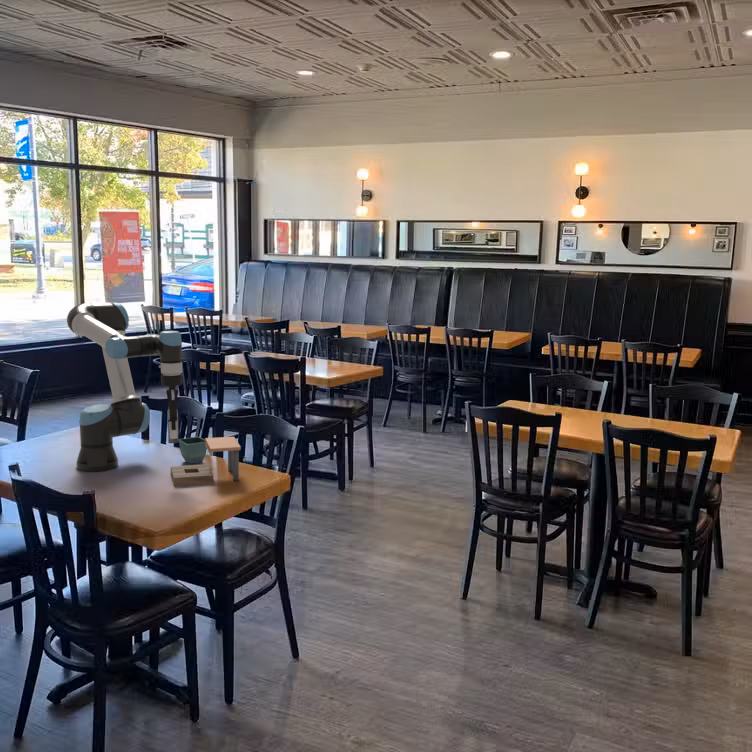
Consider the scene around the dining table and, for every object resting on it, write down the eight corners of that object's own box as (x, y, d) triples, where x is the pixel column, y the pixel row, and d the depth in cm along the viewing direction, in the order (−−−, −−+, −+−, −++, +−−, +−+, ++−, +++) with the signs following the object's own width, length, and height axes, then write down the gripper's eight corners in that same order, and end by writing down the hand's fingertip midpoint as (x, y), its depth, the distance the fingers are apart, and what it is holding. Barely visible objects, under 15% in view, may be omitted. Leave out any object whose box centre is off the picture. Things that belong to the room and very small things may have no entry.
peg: (168, 441, 280) (167, 409, 278) (178, 440, 281) (177, 409, 279) (168, 443, 277) (167, 411, 275) (178, 443, 278) (177, 410, 276)
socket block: (170, 474, 288) (170, 466, 287) (208, 471, 293) (208, 464, 292) (174, 485, 275) (173, 477, 274) (213, 482, 280) (213, 475, 279)
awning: (205, 471, 293) (205, 438, 290) (233, 469, 296) (234, 436, 294) (210, 483, 279) (210, 448, 277) (240, 481, 283) (240, 446, 280)
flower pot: (187, 466, 298) (186, 444, 297) (178, 460, 305) (178, 439, 304) (208, 463, 303) (208, 441, 302) (199, 457, 310) (199, 436, 309)
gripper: (160, 370, 282) (162, 432, 285) (161, 377, 266) (163, 443, 270) (180, 370, 284) (182, 431, 288) (183, 377, 268) (185, 441, 272)
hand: (173, 436), depth 279 cm, fingers closed on peg, 3 cm apart
